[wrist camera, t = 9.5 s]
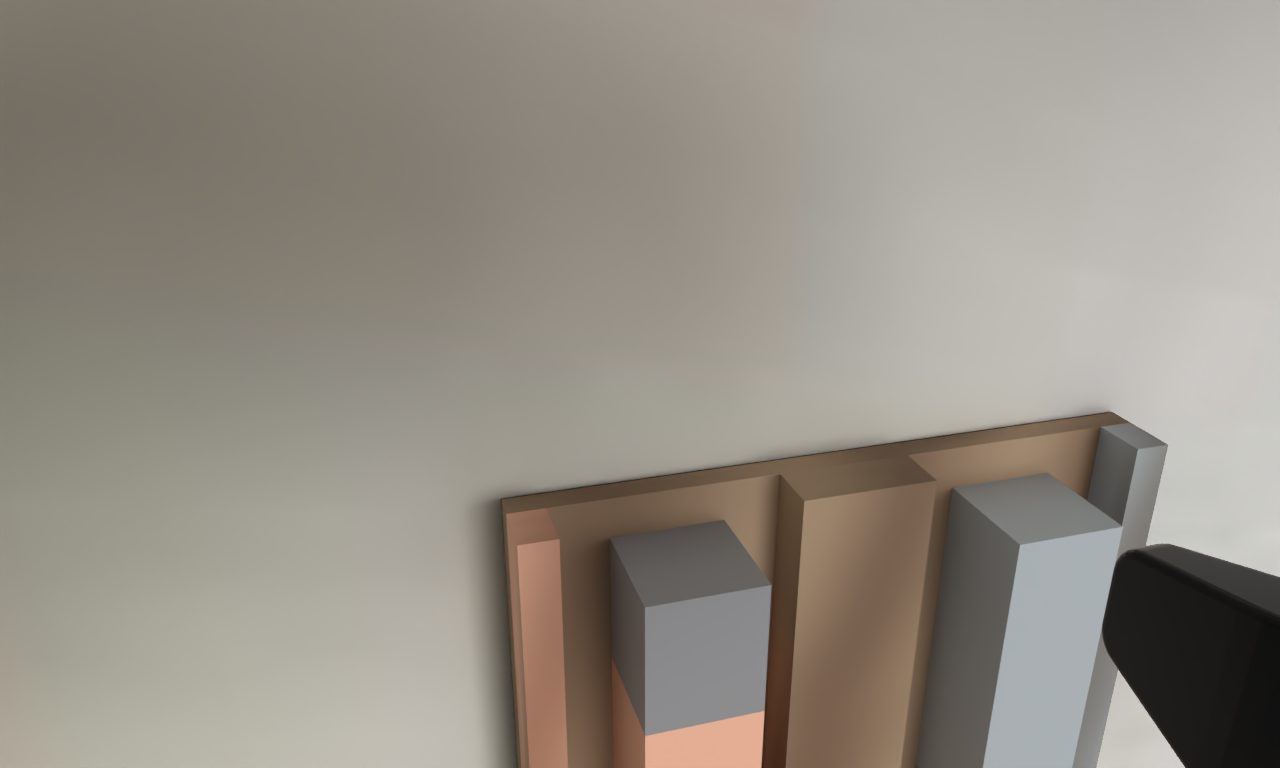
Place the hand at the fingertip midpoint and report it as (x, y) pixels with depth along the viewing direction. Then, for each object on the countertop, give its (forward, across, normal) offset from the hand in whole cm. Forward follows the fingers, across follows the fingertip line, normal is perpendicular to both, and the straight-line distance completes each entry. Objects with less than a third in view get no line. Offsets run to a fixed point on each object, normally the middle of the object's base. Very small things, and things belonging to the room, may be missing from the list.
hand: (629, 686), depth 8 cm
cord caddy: (+12, -8, +12) cm, 18 cm away
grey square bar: (+11, -12, +12) cm, 20 cm away
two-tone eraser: (+11, -4, +11) cm, 17 cm away
